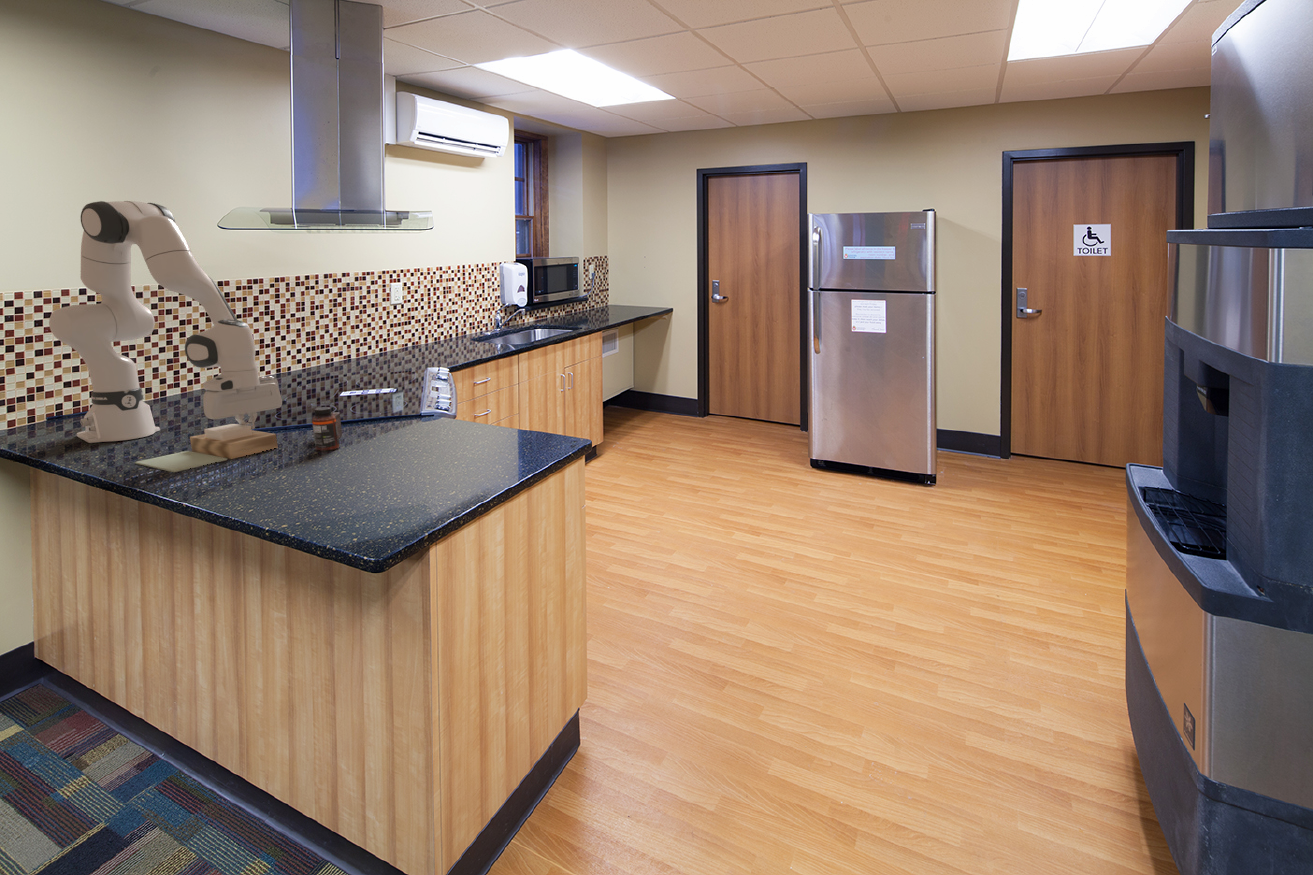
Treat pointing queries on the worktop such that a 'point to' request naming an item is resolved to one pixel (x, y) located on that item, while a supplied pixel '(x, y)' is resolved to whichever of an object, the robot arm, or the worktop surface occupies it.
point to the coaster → (228, 432)
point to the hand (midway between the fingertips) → (248, 429)
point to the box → (338, 424)
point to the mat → (180, 461)
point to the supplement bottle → (325, 429)
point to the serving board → (234, 445)
